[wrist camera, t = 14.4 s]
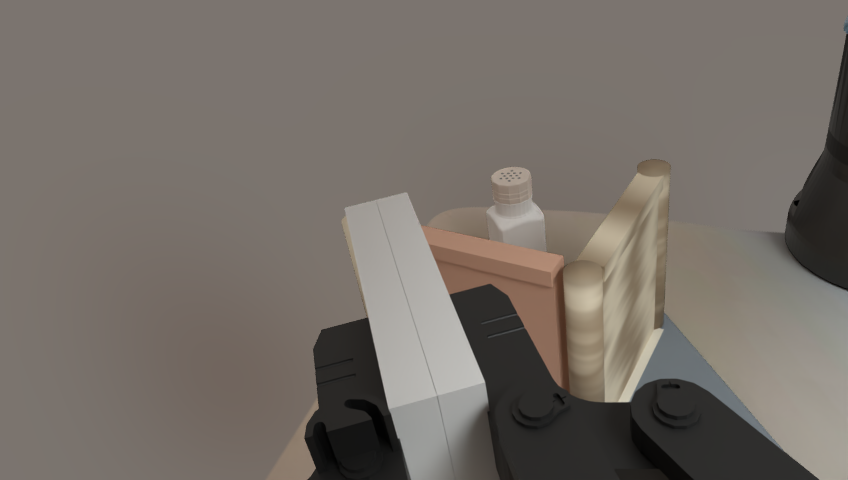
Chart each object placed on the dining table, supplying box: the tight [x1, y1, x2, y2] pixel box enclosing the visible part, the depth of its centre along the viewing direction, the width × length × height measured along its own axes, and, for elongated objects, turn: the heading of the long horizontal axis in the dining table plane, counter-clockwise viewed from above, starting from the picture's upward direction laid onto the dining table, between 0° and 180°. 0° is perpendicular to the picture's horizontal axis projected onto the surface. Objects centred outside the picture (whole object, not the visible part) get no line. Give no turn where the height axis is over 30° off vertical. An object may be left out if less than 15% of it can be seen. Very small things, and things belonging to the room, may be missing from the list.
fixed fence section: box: [563, 159, 671, 402], centre depth 41 cm, size 14×2×13 cm, turn 147°
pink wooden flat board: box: [341, 216, 570, 393], centre depth 42 cm, size 15×2×13 cm, turn 56°
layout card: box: [566, 313, 783, 450], centre depth 39 cm, size 23×22×1 cm
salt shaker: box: [486, 167, 547, 252], centre depth 55 cm, size 4×4×10 cm
